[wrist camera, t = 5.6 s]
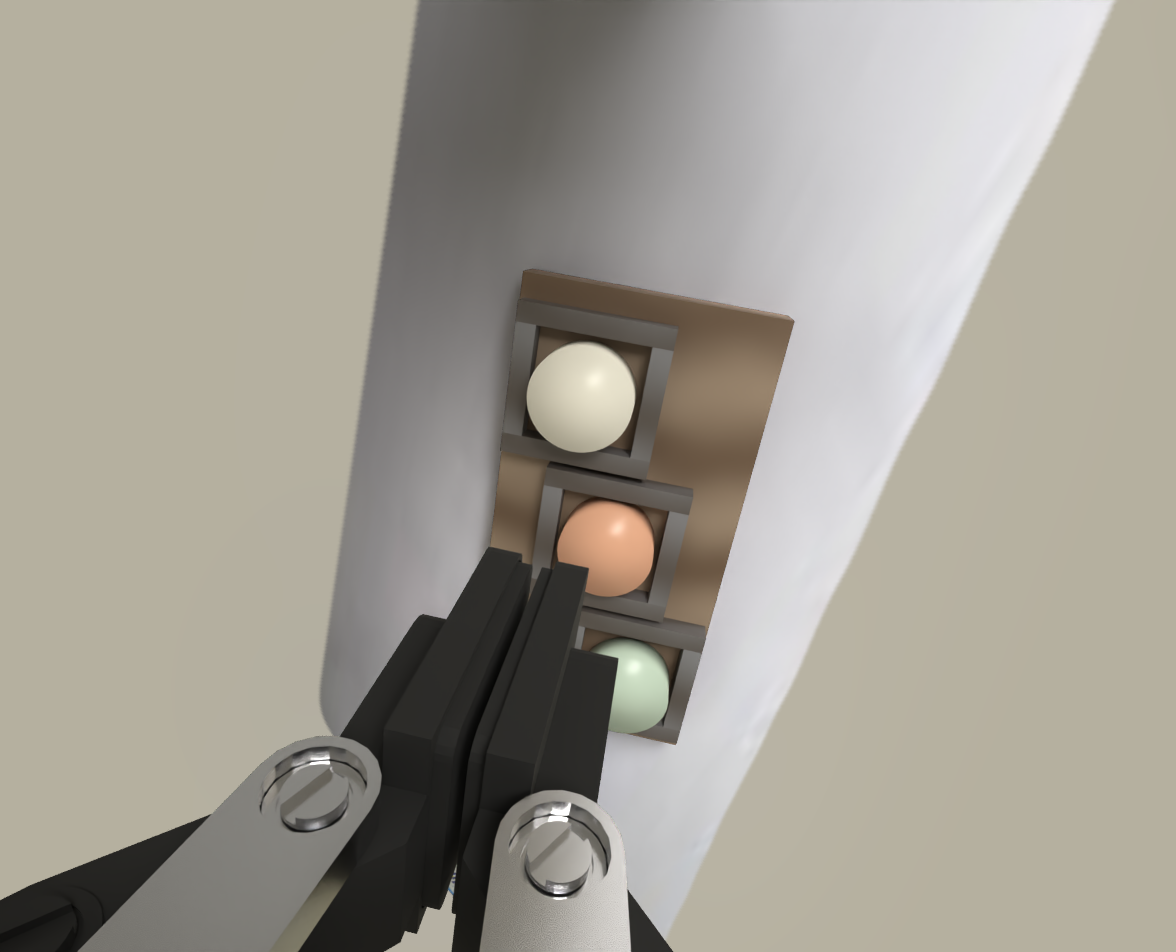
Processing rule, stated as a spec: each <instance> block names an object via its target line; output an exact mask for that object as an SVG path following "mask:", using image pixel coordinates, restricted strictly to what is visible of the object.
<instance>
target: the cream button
mask: <svg viewBox="0 0 1176 952" xmlns="http://www.w3.org/2000/svg"><path fill="white" fill-rule="evenodd" d="M635 401H636V382H635V378H634V375H633V373H632V370H631V368H630V367H629V365H628V363H627V362H626V361H625V359H624V358H623V357H622V356H621V355H620V354H619V353H618V352H617V351H615V350H614V349H612V348H611V347H609V346H607V345H605V344H602V343H599V342H596V341H589V340H579V341H573V342H570V343H567V344H564V345H562V346H560V347H559V348H557V349H555V350H554V351H553V352H552V353H551V354H550V355H548V356H547V357H546V358H545V359H544V360H543V361H542V362H541V363H540V364H539V365H538V366H537V368H536V369H535V371H534V372H533V374H532V376H531V378H530V381H529V384H528V389H527V407H528V412H529V415H530V418H531V420H532V422H533V424H534V426H535V427H536V429H537V430H538V431H539V433H540V434H541V435H542V436H543V437H544V438H545V439H546V440H548V441H549V442H550V443H552V444H553V445H555V446H557V447H559V448H561V449H564V450H567V451H571V452H578V453H586V452H593V451H597V450H600V449H603V448H605V447H607V446H609V445H610V444H612V443H613V442H614V441H616V440H617V439H618V438H619V437H620V436H621V435H622V433H623V432H624V431H625V429H626V427H627V426H628V424H629V421H630V419H631V416H632V412H633V409H634V405H635Z"/></svg>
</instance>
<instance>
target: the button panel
mask: <svg viewBox="0 0 1176 952" xmlns="http://www.w3.org/2000/svg"><path fill="white" fill-rule="evenodd" d="M793 325H794V320H793V319H791V318H790V317H789V316H786V315H781V314H775V313H770V312H764V311H759V310H754V309H748V308H743V307H737V306H732V305H726V304H721V303H716V302H710V301H705V300H699V299H694V298H688V297H683V296H677V295H672V294H667V293H661V292H656V291H650V290H645V289H639V288H634V287H629V286H623V285H618V284H612V283H607V282H601V281H596V280H591V279H585V278H580V277H574V276H569V275H563V274H558V273H553V272H547V271H542V270H536V269H529V270H525V271H523V276H522V284H521V293H520V299H519V300H518V305H517V313H516V322H515V330H514V338H513V347H512V355H511V364H510V372H509V380H508V389H507V397H506V406H505V414H504V422H503V431H502V439H501V448H500V451H501V459H500V468H499V476H498V484H497V493H496V501H495V509H494V518H493V526H492V534H491V543H490V547H494V548H499V549H503V550H508V551H513V552H517V553H522V563H527V564H531V565H533V571H532V578H531V585H530V592H529V598H530V596H531V593H532V591H533V588H534V586H535V583H536V581H537V578H538V576H539V573H540V571H541V568H542V567H545V568H550V569H554V567H555V564H556V562H557V561H558V555H557V547H558V541H559V538H560V536H561V533H562V531H563V528H564V526H565V523H566V521H567V518H568V517H569V515H570V513H571V512H572V511H573V509H574V508H576V507H577V506H578V505H579V504H580V503H582V502H583V501H585V500H587V499H590V498H593V497H597V496H598V497H603V498H608V499H613V500H618V501H622V502H627V503H632V504H636V505H637V506H638V507H640V508H641V509H642V510H643V511H644V513H645V514H646V515H647V516H648V518H649V520H650V521H651V524H652V526H653V530H654V535H655V544H654V554H653V563H652V567H651V570H650V572H649V574H648V576H647V578H646V579H645V580H644V581H643V583H642V584H641V585H639V586H638V587H637V588H636V589H634V590H632V591H630V592H628V593H626V594H623V595H619V596H611V597H605V596H597V595H593V594H590V593H588V592H585V595H584V600H583V606H582V611H581V616H580V622H579V627H578V632H577V638H576V643H575V648H576V649H580V650H585V651H589V652H590V651H591V649H592V648H594V647H595V646H596V645H597V644H599V643H601V642H603V641H605V640H608V639H612V638H620V637H625V638H633V639H637V640H640V641H643V642H645V643H647V644H649V645H650V646H652V647H653V648H655V649H656V650H657V651H658V652H659V653H660V654H661V656H662V657H663V658H664V660H665V662H666V664H667V667H668V670H669V694H668V706H667V710H666V712H665V714H664V716H663V717H662V719H661V720H660V721H659V722H658V723H657V724H656V725H654V726H653V727H651V728H649V729H647V730H644V731H641V732H637V733H626V734H630V735H635V736H639V737H643V738H647V739H652V740H656V741H660V742H665V743H669V744H673V745H676V743H677V740H678V736H679V733H680V729H681V726H682V722H683V718H684V715H685V711H686V708H687V704H688V701H689V697H690V693H691V690H692V686H693V683H694V679H695V676H696V672H697V669H698V665H699V661H700V658H701V654H702V651H703V647H704V644H705V640H706V635H707V631H708V628H709V624H710V621H711V617H712V614H713V610H714V606H715V603H716V599H717V596H718V592H719V589H720V585H721V581H722V578H723V574H724V571H725V567H726V564H727V560H728V557H729V553H730V549H731V546H732V542H733V539H734V535H735V532H736V528H737V524H738V521H739V517H740V514H741V510H742V507H743V503H744V499H745V496H746V492H747V489H748V485H749V482H750V478H751V474H752V471H753V467H754V464H755V460H756V457H757V453H758V450H759V446H760V442H761V439H762V435H763V432H764V428H765V425H766V421H767V417H768V414H769V410H770V407H771V403H772V400H773V396H774V392H775V389H776V385H777V382H778V378H779V375H780V371H781V367H782V364H783V360H784V357H785V353H786V350H787V346H788V343H789V339H790V335H791V332H792V328H793ZM579 340H589V341H596V342H599V343H602V344H605V345H607V346H609V347H611V348H612V349H614V350H615V351H617V352H618V353H619V354H620V355H621V356H622V357H623V358H624V359H625V361H626V362H627V363H628V365H629V367H630V368H631V370H632V373H633V375H634V378H635V382H636V401H635V405H634V409H633V412H632V416H631V419H630V421H629V424H628V426H627V427H626V429H625V431H624V432H623V433H622V435H621V436H620V437H619V438H618V439H617V440H616V441H614V442H613V443H612V444H610V445H609V446H607V447H605V448H603V449H600V450H597V451H593V452H586V453H578V452H571V451H567V450H564V449H561V448H559V447H557V446H555V445H553V444H552V443H550V442H549V441H548V440H546V439H545V438H544V437H543V436H542V435H541V434H540V433H539V431H538V430H537V429H536V427H535V426H534V424H533V422H532V420H531V418H530V415H529V412H528V407H527V389H528V384H529V381H530V378H531V376H532V374H533V372H534V371H535V369H536V368H537V366H538V365H539V364H540V363H541V362H542V361H543V360H544V359H545V358H546V357H547V356H548V355H550V354H551V353H552V352H553V351H554V350H555V349H557V348H559V347H560V346H562V345H564V344H567V343H570V342H573V341H579ZM528 601H529V599H528Z"/></svg>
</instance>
